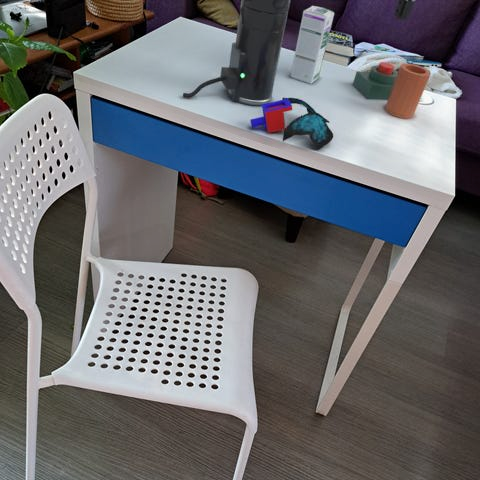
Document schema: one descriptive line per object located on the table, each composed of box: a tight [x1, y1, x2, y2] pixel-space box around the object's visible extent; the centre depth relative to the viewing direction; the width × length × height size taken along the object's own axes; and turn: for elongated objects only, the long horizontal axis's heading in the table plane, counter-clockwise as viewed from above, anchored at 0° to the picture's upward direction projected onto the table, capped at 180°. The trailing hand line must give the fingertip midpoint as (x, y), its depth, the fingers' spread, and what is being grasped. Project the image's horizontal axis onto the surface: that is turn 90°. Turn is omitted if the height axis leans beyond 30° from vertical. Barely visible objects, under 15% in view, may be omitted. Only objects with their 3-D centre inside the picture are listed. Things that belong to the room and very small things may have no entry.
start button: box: [377, 61, 395, 75], centre depth 118 cm, size 4×4×2 cm
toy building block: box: [250, 97, 293, 134], centre depth 97 cm, size 4×4×8 cm
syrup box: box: [289, 5, 335, 84], centre depth 116 cm, size 6×6×14 cm
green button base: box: [352, 65, 398, 100], centre depth 120 cm, size 10×8×5 cm
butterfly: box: [281, 97, 334, 151], centre depth 98 cm, size 17×5×10 cm
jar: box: [384, 62, 431, 120], centre depth 112 cm, size 7×7×10 cm
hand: (400, 18), depth 110 cm, fingers closed
